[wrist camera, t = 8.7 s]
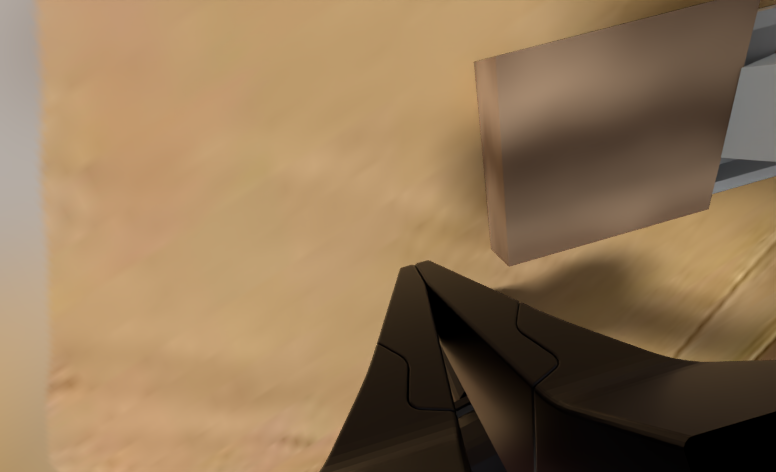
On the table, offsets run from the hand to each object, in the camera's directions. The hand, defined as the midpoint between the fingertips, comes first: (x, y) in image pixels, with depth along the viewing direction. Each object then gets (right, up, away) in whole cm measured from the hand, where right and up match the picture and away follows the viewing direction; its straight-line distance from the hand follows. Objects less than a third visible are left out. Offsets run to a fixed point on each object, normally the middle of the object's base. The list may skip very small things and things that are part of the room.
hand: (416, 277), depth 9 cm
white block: (+21, +9, +10) cm, 25 cm away
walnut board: (+12, +7, +11) cm, 18 cm away
